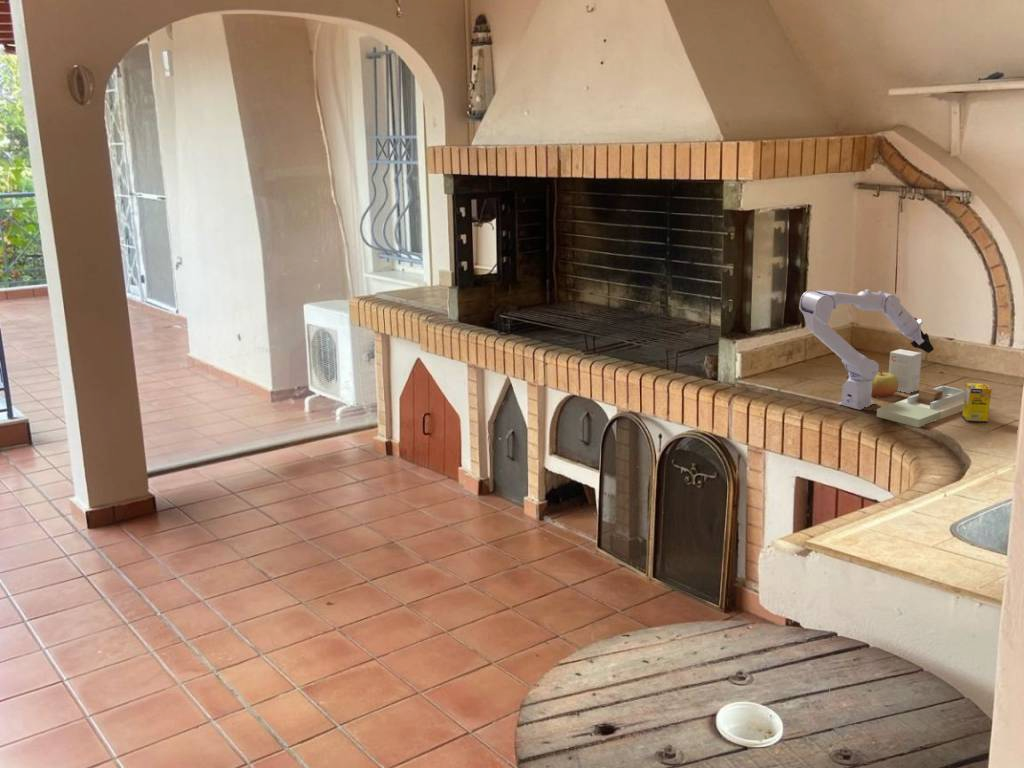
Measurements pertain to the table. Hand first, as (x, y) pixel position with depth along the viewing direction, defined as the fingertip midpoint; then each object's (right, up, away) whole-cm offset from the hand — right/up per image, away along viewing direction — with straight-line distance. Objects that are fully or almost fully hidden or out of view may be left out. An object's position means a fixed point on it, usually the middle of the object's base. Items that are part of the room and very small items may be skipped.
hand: (926, 344), depth 313 cm
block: (-3, -19, -10) cm, 22 cm away
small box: (-3, -15, +13) cm, 20 cm away
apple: (-12, -17, +7) cm, 22 cm away
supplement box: (+6, -24, -20) cm, 32 cm away
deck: (-5, -21, -10) cm, 24 cm away
